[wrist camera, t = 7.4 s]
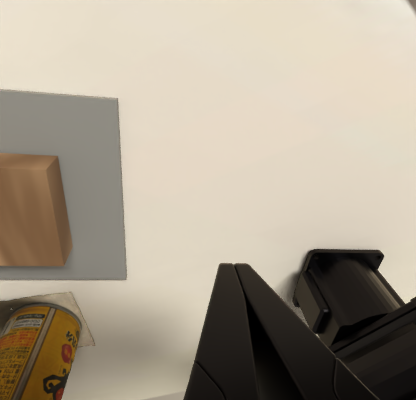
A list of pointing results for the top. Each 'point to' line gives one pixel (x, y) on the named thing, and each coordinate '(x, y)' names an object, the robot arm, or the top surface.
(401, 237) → the top surface
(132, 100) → the top surface
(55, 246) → the wooden block
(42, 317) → the condiment
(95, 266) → the mat
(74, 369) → the top surface
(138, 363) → the top surface
